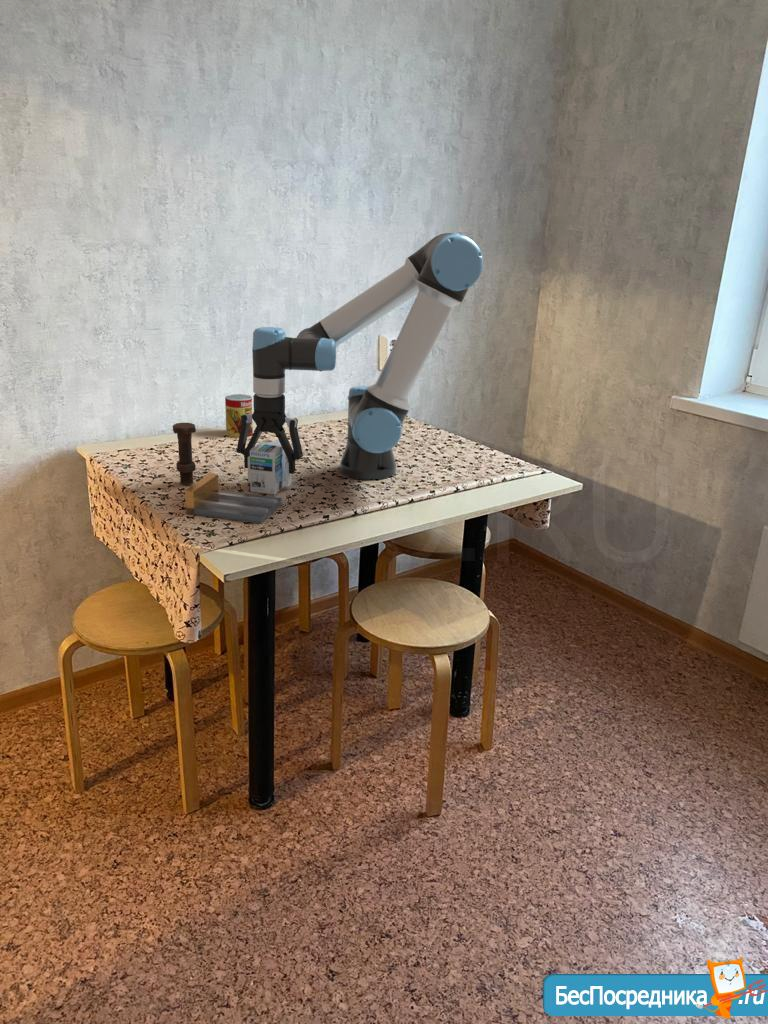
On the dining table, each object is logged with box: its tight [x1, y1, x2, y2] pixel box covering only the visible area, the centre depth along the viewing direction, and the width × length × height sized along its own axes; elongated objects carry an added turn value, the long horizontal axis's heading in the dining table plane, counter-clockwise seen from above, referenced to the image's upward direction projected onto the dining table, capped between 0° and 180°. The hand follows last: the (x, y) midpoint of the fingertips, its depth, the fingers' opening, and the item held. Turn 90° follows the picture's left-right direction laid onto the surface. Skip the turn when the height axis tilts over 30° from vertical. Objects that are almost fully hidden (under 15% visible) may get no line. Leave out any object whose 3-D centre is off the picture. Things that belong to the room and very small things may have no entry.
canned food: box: [224, 393, 254, 439], centre depth 232 cm, size 8×8×12 cm
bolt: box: [172, 422, 197, 486], centre depth 189 cm, size 6×5×15 cm
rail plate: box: [184, 472, 283, 525], centre depth 177 cm, size 18×13×6 cm
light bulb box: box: [249, 438, 288, 495], centre depth 191 cm, size 11×7×11 cm, turn 168°
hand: (269, 482), depth 192 cm, fingers open, 9 cm apart
